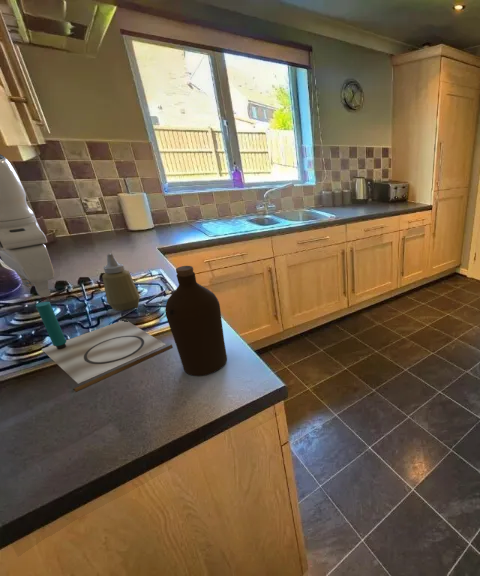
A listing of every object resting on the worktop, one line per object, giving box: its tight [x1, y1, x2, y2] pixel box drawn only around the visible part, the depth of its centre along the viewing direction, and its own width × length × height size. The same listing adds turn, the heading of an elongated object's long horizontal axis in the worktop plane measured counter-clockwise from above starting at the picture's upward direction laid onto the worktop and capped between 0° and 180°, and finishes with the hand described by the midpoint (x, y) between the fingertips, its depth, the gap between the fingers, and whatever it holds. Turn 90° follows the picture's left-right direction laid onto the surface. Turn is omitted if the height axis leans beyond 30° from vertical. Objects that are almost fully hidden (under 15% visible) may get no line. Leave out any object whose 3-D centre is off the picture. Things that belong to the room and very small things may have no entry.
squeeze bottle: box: [101, 252, 141, 312], centre depth 99 cm, size 8×8×18 cm
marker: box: [35, 301, 67, 349], centre depth 79 cm, size 2×2×12 cm
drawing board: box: [41, 320, 174, 393], centre depth 83 cm, size 24×20×1 cm
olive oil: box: [165, 265, 228, 377], centre depth 74 cm, size 11×11×25 cm
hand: (37, 290), depth 75 cm, fingers open, 8 cm apart
